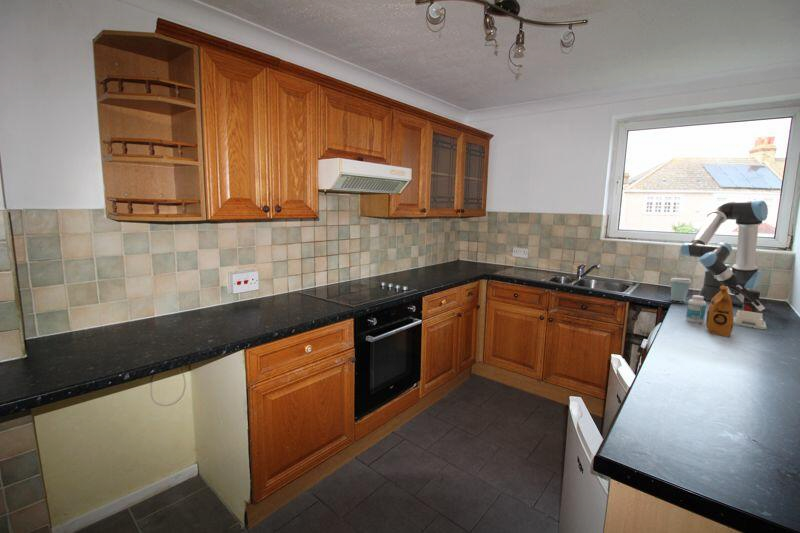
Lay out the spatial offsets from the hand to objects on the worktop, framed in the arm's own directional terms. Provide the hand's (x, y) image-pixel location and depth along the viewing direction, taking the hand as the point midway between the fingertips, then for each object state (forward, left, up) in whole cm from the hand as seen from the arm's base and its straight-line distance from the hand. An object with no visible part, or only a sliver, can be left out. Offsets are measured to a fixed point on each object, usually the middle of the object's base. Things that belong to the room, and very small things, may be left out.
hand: (754, 306), depth 206 cm
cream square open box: (+15, -2, -7) cm, 16 cm away
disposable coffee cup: (-17, -35, -7) cm, 40 cm away
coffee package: (+45, -13, -7) cm, 47 cm away
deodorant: (+1, -2, -7) cm, 7 cm away
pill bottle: (+30, -23, -7) cm, 38 cm away
